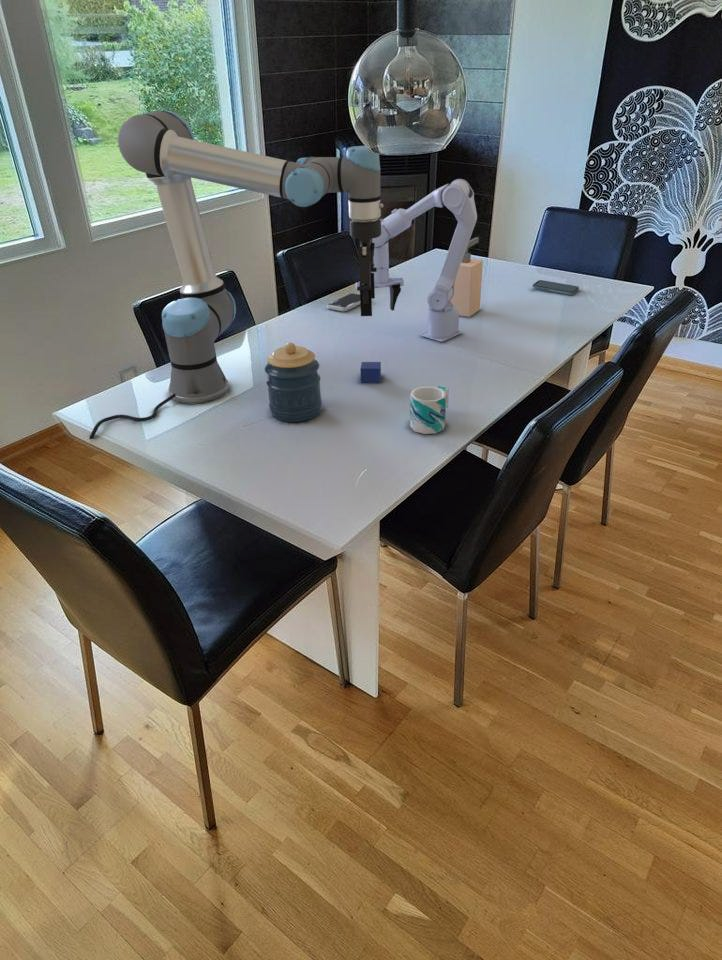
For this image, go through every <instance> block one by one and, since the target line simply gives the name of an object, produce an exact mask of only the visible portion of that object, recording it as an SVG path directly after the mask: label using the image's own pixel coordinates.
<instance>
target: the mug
mask: <svg viewBox="0 0 722 960" xmlns="http://www.w3.org/2000/svg"><path fill="white" fill-rule="evenodd" d="M449 393H450V388H449V387H445V386H441V385H438V386H437V387H436V386H432V385H429V386H428V385H427V386H419V387H416V388H414V389H412V390H411V392H410V395H409V396H410V397H409V398H410V399H409V401H410V403H409V420H410V421H409V426H410V429H412V431H414V432H415V433H418V434H423V435H430V434H432V435H433V434H438V433H440V432H442V431H444V429H445V426H446V412H447V411H446V410H447V408H448V407H449Z"/></svg>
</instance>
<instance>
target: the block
mask: <svg viewBox="0 0 722 960" xmlns="http://www.w3.org/2000/svg"><path fill="white" fill-rule="evenodd" d="M360 364H361V365H360V383H361V384H362V383H363V384H365V383H368V384H369V383H372V384H373V383H376V384H378V383H379V384H380V383H381V380H382V362H381V361H362V362H361V363H360Z"/></svg>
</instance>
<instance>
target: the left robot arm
mask: <svg viewBox="0 0 722 960" xmlns="http://www.w3.org/2000/svg"><path fill="white" fill-rule="evenodd" d="M117 144H118V145H117V146H118V149H119V152H120V154H121V157H122V158H123V159H124V161H125V162H126V164H128V165H129V166H130V167H132V168H133V169H134V170H136V171H138V172H140V173H145V176H146V179H147V180H148V181H149V182H151V183H153V184H154V186H155V188H156V191H157V195H158V198H159V203H160V205H161V209H162V212H163V216H164V219H165V223H166V226H167V230H168V233H169V236H170V240H171V244H172V247H173V248H172V249H173V251H174V253H175V254H174V255H175V258H176V261H177V265H178V268H179V273H180V276H181V279H182V285H181V287H180V288H179V293H180V297H181V298H179V299H177V300H173V301H171V302H170V303H168V304H167V305H165V307H164V308H163V309H162V311H161V320H162V323H161V324H162V329H163V331H164V337H165V342H166V345H167V352H168V357H169V361H170V367H171V369H170V370H171V371H170V377H169V386H168V393H169V396H168V397H166V398H165V399H164V400H162V401H161V402H159V403H158V404H156V406H155V407H154V408H153V411H152V414H151V415H148V416H145V417H136V416H132V415H129V414H128V415H127V414H114V415H111V416H107V417H104V418H102V419H100V420H98V422H97V423H96V424H95V425H94V427H93V429H92V431H91V433H90V435H89V438H88V439H89V440H93V439H94V438H95V435H96V433H97V431H98V429H99V427H100V426H101V425H102V424H104V423H106V422H109V421H112V420H117V419H127V420H131V421H136V422H146V421H150V420H153V419H154V418H156V416H157V412H158V410H159V409H160V408H161V407H162V406H164V405H165V404H167V403H169V402H170V401H172V400H173V401H175V402H177V403H180V404H188V405H189V404H190V405H196V404H197V405H198V404H204V403H208V402H212V401H214V400H217V399H219V398H221V397H223V396H224V395H225V394H227V392H228V391H229V383H228V379H227V378H226V375H225V374H224V372H223V370H222V368H221V366H220V363H219V362H218V358H217V353H216V346H215V341H216V340H217V339H218V338H219V337H220V335H221V334H223V333H224V332H226V330H228V329H229V328H230V326H231V325H232V323H233V321H234V319H235V317H236V313H237V305H236V300H235V299H234V297H233V295H232V293H231V292H229V291H228V290H227V289H226V287H225V283H224V280H223V279H221V278H219V277H218V276H217V275H216V271H215V267H214V264H213V259H212V256H211V252H210V247H209V244H208V240H207V236H206V232H205V228H204V224H203V221H202V216H201V213H200V208H199V206H198V201H197V198H196V194H195V190H194V185H193V182H192V179H195V180H200V181H204V182H209V183H215V184H218V185H222V186H227V187H231V188H232V187H233V188H237V189H241V190H246V191H250V192H255V193H259V194H262V195H263V194H264V195H268V196H272V197H277V198H281V199H286V200H289V201H290V202H291V203H292V204H293V205H295V206H296V207H301V208H307V207H310V206H313V205H315V204H316V203H318V202H319V201H320V200H321V199H322V197H324V196H326V195H327V194H332V193H334V194H335V193H343V194H344V193H347V196H348V199H347V200H348V201H347V203H348V218H349V219H350V221H349V235H350V237H351V238H353V239H355V240H359V241H360V242H358V243H357V255H358V264H359V282H360V286H359V287H357V290H356V291H358V292H359V295H360V304H359V305H360V317H372V316H373V303H372V302H373V300H374V299H375V298H376V295H375V294H376V293H375V291H376V290H375V289H376V288H374V273H372V272H377V268H374V258H373V257H374V250H375V243H373V239H372V238H377V237H379V236H380V235H381V220H380V219H381V216H382V209H383V208H384V203H381V198H382V197H381V169H382V168H381V162H380V153H379V154H378V153H374V152H372V151H370V150H369V149H368V148H367V147H366V146H367V145H357V146H356V145H355V146H350V147H348V148H347V149H346V153H345V155H344V156H335V157H334V156H309V157H300V158H298V159H297V160H296V162H294V161H289V160H285V159H281V158H277V157H272V156H267V155H263V154H258V153H254V152H250V151H245V150H240V149H237V148H231V147H227V146H222V145H219V144H213V143H209V142H205V141H200V140H196V139H195V135H194V132H193V130H192V128H191V125H190V124H189V123H188V121H187V120H186V119H185V118H184V117H183V116H181V115H180V114H178V113H176V112H174V111H171V110H164V109H161V110H158V109H157V110H154V111H150V112H145V113H141V114H136V115H132V116H130V117H129V118H127V119H125V121H123V123H122V124H121V126H120V127H119V129H118V135H117ZM363 284H364V285H363Z"/></svg>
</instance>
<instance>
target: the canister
mask: <svg viewBox="0 0 722 960" xmlns="http://www.w3.org/2000/svg"><path fill="white" fill-rule="evenodd" d="M266 360H267V364H265V367H264V372H265V373H266V375H267V378H266V382H265V383H266V385H267V393H268V400H269V402H268V406H269V410H270V413H271V415H272V417H273V418H275V419H276V420H279V421H282V422H288V423H289V422H290V423H296V422H297V423H298V422H304V421H308V420H311V419H313V418H315V417H317V416H318V415H319V414H320V413H321V411H322V408H323V399H322V392H321V376H320V374H319V372H318V370H319V369H320V363H319V361H318V360H317V359H316V354H315V352H313V351H312V350H309V349H308V348H306V347H304V346H299V345H296V344H294V343H293V342H287V343H286V344H285V346H283V347H279V348H277V349H275V350H274V351H273V352H272V353H270V354H269V355H268V356H267V359H266Z"/></svg>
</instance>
